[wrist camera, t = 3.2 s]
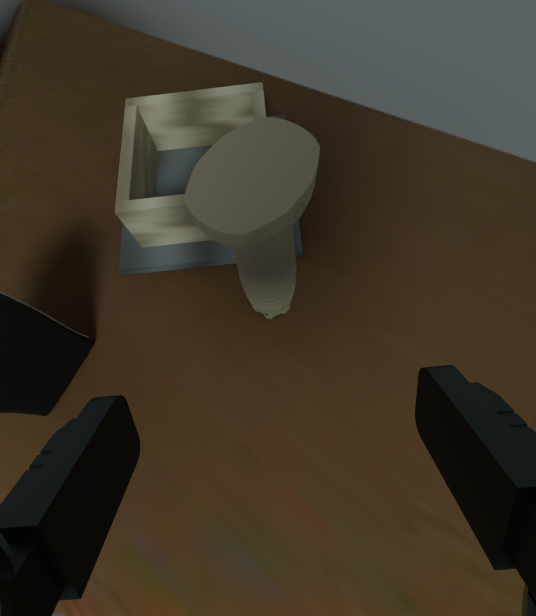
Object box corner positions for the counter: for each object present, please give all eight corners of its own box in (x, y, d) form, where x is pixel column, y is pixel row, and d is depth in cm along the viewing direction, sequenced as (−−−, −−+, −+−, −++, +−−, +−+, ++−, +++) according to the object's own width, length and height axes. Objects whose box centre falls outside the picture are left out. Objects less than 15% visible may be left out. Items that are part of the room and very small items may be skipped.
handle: (226, 315, 28) (161, 197, 14) (271, 259, 30) (254, 103, 16) (272, 348, 27) (251, 254, 13) (317, 288, 29) (342, 146, 15)
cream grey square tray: (284, 122, 36) (283, 63, 30) (302, 256, 30) (304, 214, 24) (134, 140, 36) (105, 85, 30) (123, 275, 30) (85, 238, 25)
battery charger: (63, 323, 29) (-70, 257, 18) (99, 340, 28) (-18, 281, 18) (11, 399, 27) (-172, 375, 16) (48, 420, 26) (-119, 409, 16)
